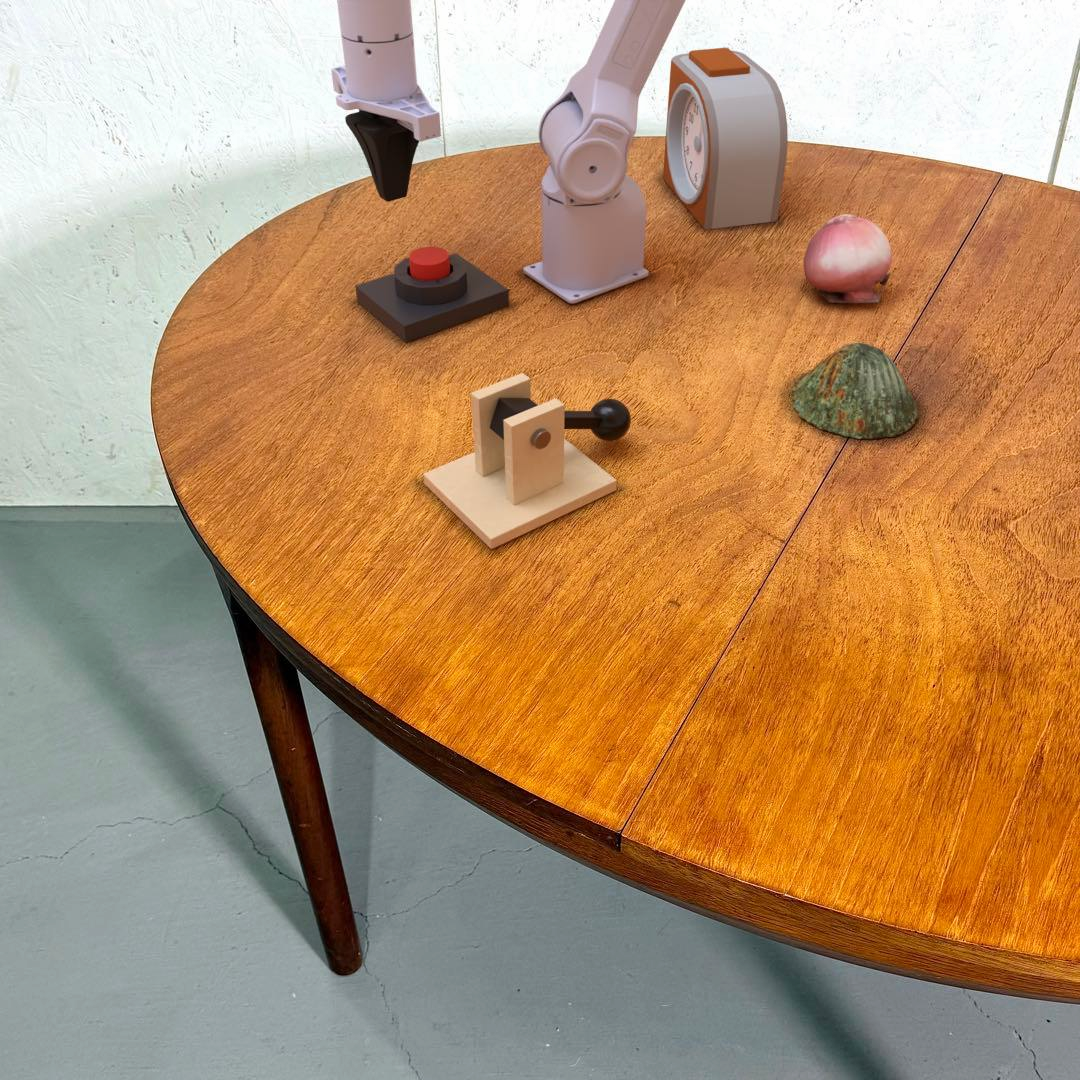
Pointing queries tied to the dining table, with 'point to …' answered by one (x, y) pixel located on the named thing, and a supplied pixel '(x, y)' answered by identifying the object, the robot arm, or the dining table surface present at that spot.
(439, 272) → the button
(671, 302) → the dining table surface
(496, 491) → the lever base
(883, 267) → the onion
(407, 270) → the control block
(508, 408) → the black lever handle
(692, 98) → the alarm clock
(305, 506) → the dining table surface
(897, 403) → the seashell
